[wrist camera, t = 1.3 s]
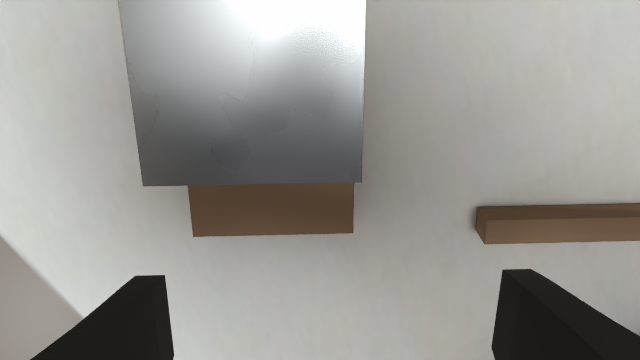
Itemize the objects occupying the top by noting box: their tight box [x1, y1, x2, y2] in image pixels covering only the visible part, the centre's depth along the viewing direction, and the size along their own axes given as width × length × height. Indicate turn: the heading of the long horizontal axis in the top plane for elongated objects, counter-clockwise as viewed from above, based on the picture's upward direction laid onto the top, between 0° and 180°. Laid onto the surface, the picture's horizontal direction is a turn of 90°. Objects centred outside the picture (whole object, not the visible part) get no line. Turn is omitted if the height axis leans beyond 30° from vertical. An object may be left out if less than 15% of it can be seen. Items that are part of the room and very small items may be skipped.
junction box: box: [118, 0, 366, 186], centre depth 15 cm, size 7×5×7 cm
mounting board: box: [188, 182, 354, 237], centre depth 19 cm, size 14×6×1 cm, turn 0°
